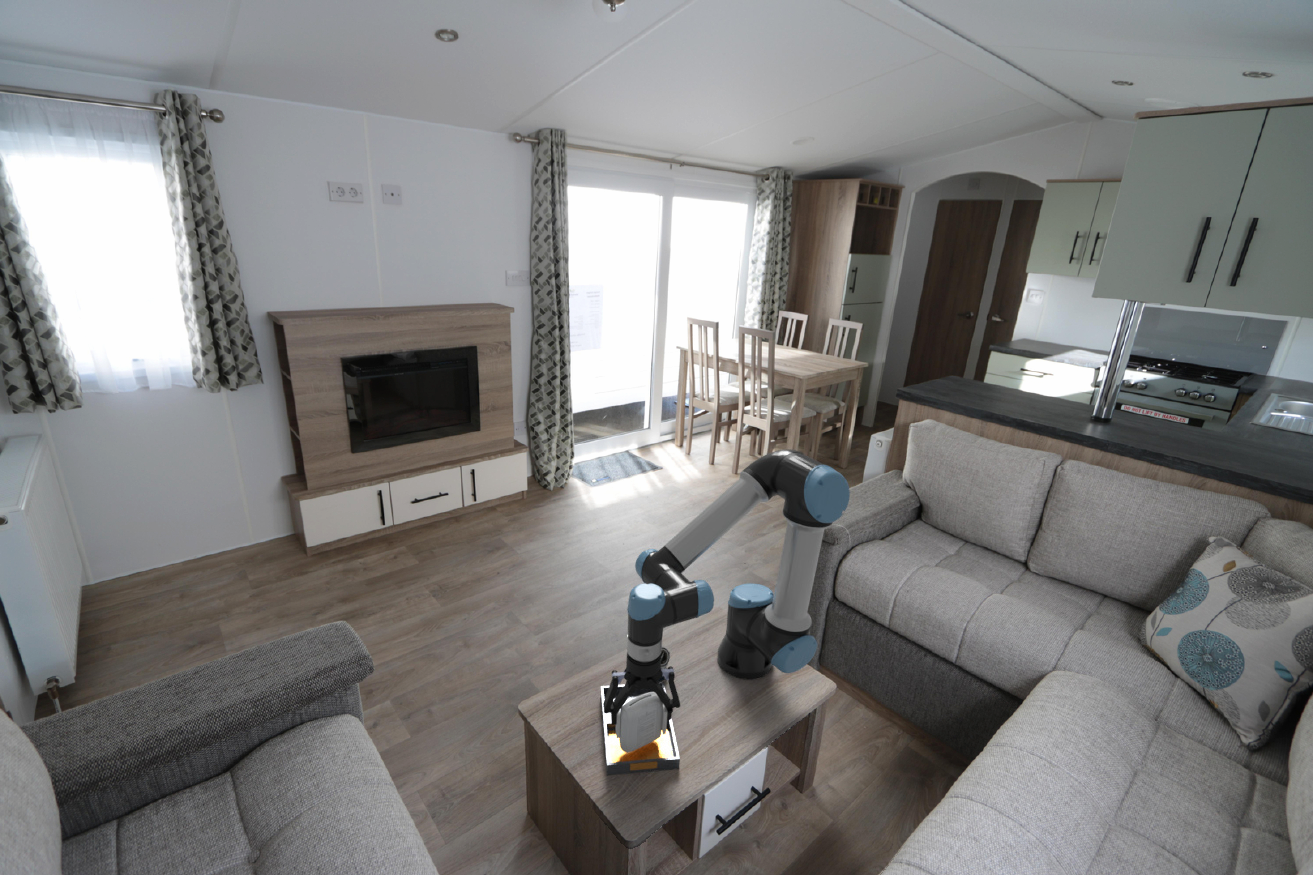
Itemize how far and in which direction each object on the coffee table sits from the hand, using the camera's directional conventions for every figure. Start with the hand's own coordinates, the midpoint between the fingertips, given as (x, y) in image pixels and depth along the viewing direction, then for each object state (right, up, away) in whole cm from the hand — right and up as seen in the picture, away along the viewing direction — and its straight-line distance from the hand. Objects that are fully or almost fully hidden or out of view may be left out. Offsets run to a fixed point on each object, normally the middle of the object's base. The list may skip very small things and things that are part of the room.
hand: (640, 731), depth 139 cm
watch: (+3, +3, +24) cm, 24 cm away
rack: (-1, -3, +7) cm, 8 cm away
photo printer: (0, -3, +1) cm, 3 cm away
